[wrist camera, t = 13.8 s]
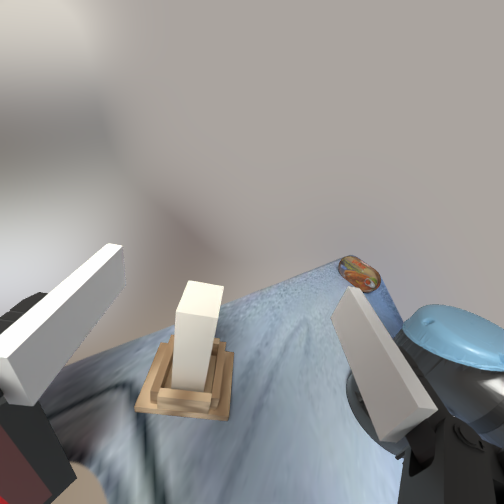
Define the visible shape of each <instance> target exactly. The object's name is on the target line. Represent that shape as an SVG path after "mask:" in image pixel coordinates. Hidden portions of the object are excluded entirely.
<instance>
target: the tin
mask: <svg viewBox="0 0 504 504" xmlns="http://www.w3.org/2000/svg"><path fill="white" fill-rule="evenodd" d="M339 272H340V274H341V276H342V277H343V278H345V279H346V280H347V281H349V282H350V283H351V284H352V285H354V286H355V287H356V288H360V289H361V291H362V292H371V291H374V290H376V289H377V288H378V287H379V286H380V283H381V278H380V275H379V273H378V272H377V271H376V270H375V269H374V268H372V267H371V266H369V265H367V264H366V263H364V262H363V261H361V260H360V259H358V258H357V257H353V256H346V257H344V258H342V259H341V261H340V263H339Z"/></svg>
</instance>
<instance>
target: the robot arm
mask: <svg viewBox="0 0 504 504" xmlns="http://www.w3.org/2000/svg"><path fill="white" fill-rule="evenodd" d="M125 286H126V279H125V266H124V255H123V246H121V245H115V244H110V243H108V244H107V245H105V246H104V247H103V248H102V249H101V250H100V251H98V252H97V253H96V254H95V255H94V256H92V257H91V258H90V259H89V260H88V261H87V262H85V263H84V264H83V265H82V266H81V267H79V268H78V269H77V270H76V271H75V272H74V273H72V274H71V275H70V276H69V277H68V278H66V279H65V280H64V281H63V282H62V283H61V284H59V285H58V286H57V287H56V288H55V289H53V290H52V291H51V292H50V293H49V294H48V293H41V292H39V293H37V294H34V295H32V296H30V297H28V298H26V299H24V300H22V301H21V302H20V303H18V304H17V305H16V306H14V307H13V308H12V309H10V311H9V312H7V313H5V314H4V315H3V316H1V317H0V398H1V397H2V396H3V395H4V397H5V399H6V400H7V402H8V403H9V404H15V405H25V406H34V405H35V403H36V402H37V401H38V399H39V398H40V397H41V395H42V394H43V393H44V392H45V390H46V389H47V388H48V386H49V385H50V384H51V382H52V381H53V380H54V379H55V377H56V376H57V375H58V373H59V372H60V371H61V369H62V368H63V367H64V365H65V364H66V363H67V361H68V360H69V359H70V357H71V356H72V355H73V353H74V352H75V351H76V350H77V348H78V347H79V346H80V345H81V343H82V342H83V341H84V339H85V338H86V337H87V335H88V334H89V333H90V332H91V330H92V329H93V328H94V326H95V325H96V324H97V322H98V321H99V320H100V318H101V317H102V316H103V315H104V313H105V312H106V311H107V309H108V308H109V307H110V305H111V304H112V303H113V301H114V300H115V299H116V297H117V296H118V295H119V293H120V292H121V291H122V290H123V288H124V287H125ZM331 320H332V323H333V325H334V328H335V330H336V333H337V335H338V338H339V340H340V343H341V345H342V348H343V350H344V353H345V355H346V358H347V360H348V363H349V365H350V368H351V370H352V374H351V375H350V376H349V378H348V381H347V387H346V389H347V397H348V401H349V404H350V406H351V409H352V411H353V413H354V415H355V417H356V418H357V420H358V421H359V423H360V424H361V426H362V427H363V428H364V430H365V431H366V432H367V433H368V434H369V435H370V436H371V437H372V438H373V439H374V440H375V441H376V442H377V443H378V444H379V445H380V446H382V447H383V448H384V449H386V450H387V451H389V452H391V453H392V454H394V455H396V457H395V458H396V459H397V460H399V459H400V458H404V462H403V463H402V464H403V469H402V476H401V483H400V490H399V497H398V504H504V329H502V328H501V327H499V326H498V325H496V324H494V323H492V322H490V321H488V320H486V319H484V318H482V317H480V316H478V315H475V314H473V313H471V312H468V311H465V310H462V309H459V308H456V307H452V306H446V305H439V304H432V305H426V306H423V307H421V308H419V309H418V310H417V311H416V312H415V313H414V314H413V315H412V317H411V318H410V319H408V320H406V321H405V322H404V323H403V325H402V326H403V327H402V329H401V330H400V331H399V333H398V334H397V335H396V336H395V337H394V339H392V337H391V336H390V334H389V333H388V331H387V330H386V328H385V326H384V325H383V323H382V322H381V320H380V319H379V317H378V316H377V314H376V313H375V311H374V309H373V308H372V306H371V305H370V303H369V302H368V300H367V299H366V297H365V296H364V294H363V292H362V291H361V289H360V288H356V287H350V286H348V287H347V289H346V291H345V293H344V295H343V296H342V298H341V300H340V302H339V304H338V305H337V307H336V309H335V311H334V313H333V314H332V316H331ZM453 416H455V417H453Z"/></svg>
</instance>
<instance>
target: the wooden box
mask: <svg viewBox="0 0 504 504" xmlns="http://www.w3.org/2000/svg"><path fill="white" fill-rule="evenodd" d="M225 346H226V342H220V339H219V338H214V341H213V346H212V351H211V356H210V361H209V366H208V371H207V377H206V382H205V387H204V392H195V391H186V390H177V389H171V383H172V367H173V351H174V335H171V337H170V340H169V342H168V343H160V346H159V348H158V350H157V353H156V355H155V358H154V360H153V363H152V365H151V368H150V370H149V372H148V375H147V377H146V380H145V382H144V385H143V387H142V389H141V392H140V394H139V397H138V399H137V402H136V404H135V406H134V408H135V412H142V413H152V414H162V415H172V416H181V417H191V418H201V419H211V420H221V421H228V418H229V409H230V397H231V384H232V371H233V358H234V352H227V351H225Z"/></svg>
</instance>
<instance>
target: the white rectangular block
mask: <svg viewBox="0 0 504 504" xmlns="http://www.w3.org/2000/svg"><path fill="white" fill-rule="evenodd" d="M223 288H224V287H223V286H218V285H212V284H206V283H201V282H195V281H188V283H187V286H186V289H185V291H184V293H183V296H182V298H181V301H180V303H179V306H178V308H177V311H176V320H175V335H174V351H173V367H172V383H171V389H177V390H186V391H195V392H204V387H205V382H206V377H207V371H208V366H209V361H210V356H211V351H212V346H213V341H214V336H215V331H216V326H217V321H218V316H219V310H220V304H221V299H222V293H223Z"/></svg>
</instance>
